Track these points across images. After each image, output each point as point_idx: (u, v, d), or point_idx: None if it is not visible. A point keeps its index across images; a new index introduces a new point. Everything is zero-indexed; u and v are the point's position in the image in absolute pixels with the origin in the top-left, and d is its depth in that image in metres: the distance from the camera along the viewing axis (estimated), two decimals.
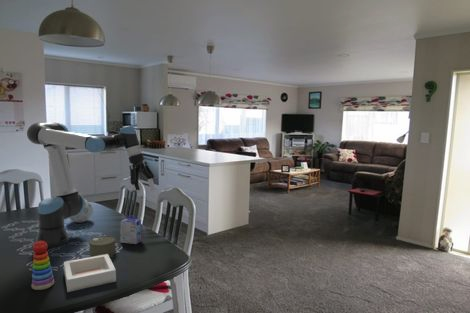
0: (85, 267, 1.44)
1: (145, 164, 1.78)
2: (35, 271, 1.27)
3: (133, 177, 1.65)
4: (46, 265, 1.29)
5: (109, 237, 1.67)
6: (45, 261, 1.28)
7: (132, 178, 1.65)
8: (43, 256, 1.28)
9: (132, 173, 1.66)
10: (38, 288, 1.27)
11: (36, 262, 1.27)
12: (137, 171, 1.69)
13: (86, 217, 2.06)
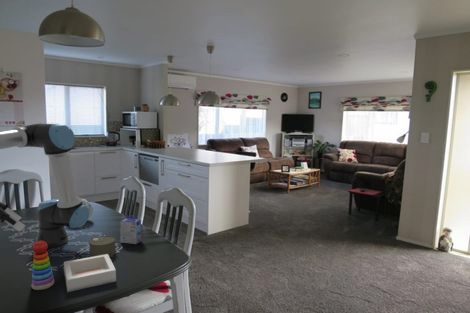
0: (85, 267, 1.44)
1: None
2: (35, 271, 1.27)
3: None
4: (46, 265, 1.29)
5: (109, 237, 1.67)
6: (45, 261, 1.28)
7: None
8: (43, 256, 1.28)
9: None
10: (38, 288, 1.27)
11: (36, 262, 1.27)
12: None
13: None
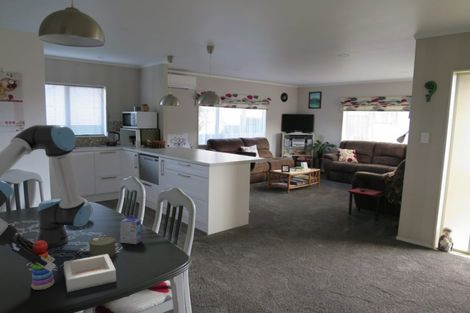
0: (85, 267, 1.44)
1: None
2: (35, 271, 1.27)
3: None
4: None
5: (109, 237, 1.67)
6: None
7: None
8: (43, 256, 1.28)
9: None
10: (38, 288, 1.27)
11: None
12: (22, 245, 1.28)
13: None
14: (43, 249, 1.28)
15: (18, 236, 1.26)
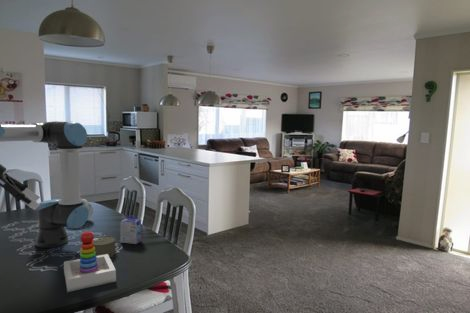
0: None
1: None
2: (83, 260, 1.35)
3: None
4: (93, 254, 1.37)
5: (109, 237, 1.67)
6: (92, 250, 1.36)
7: None
8: (90, 246, 1.36)
9: None
10: None
11: (84, 251, 1.35)
12: None
13: None
14: (90, 239, 1.35)
15: (7, 175, 1.29)
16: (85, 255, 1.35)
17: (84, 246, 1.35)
